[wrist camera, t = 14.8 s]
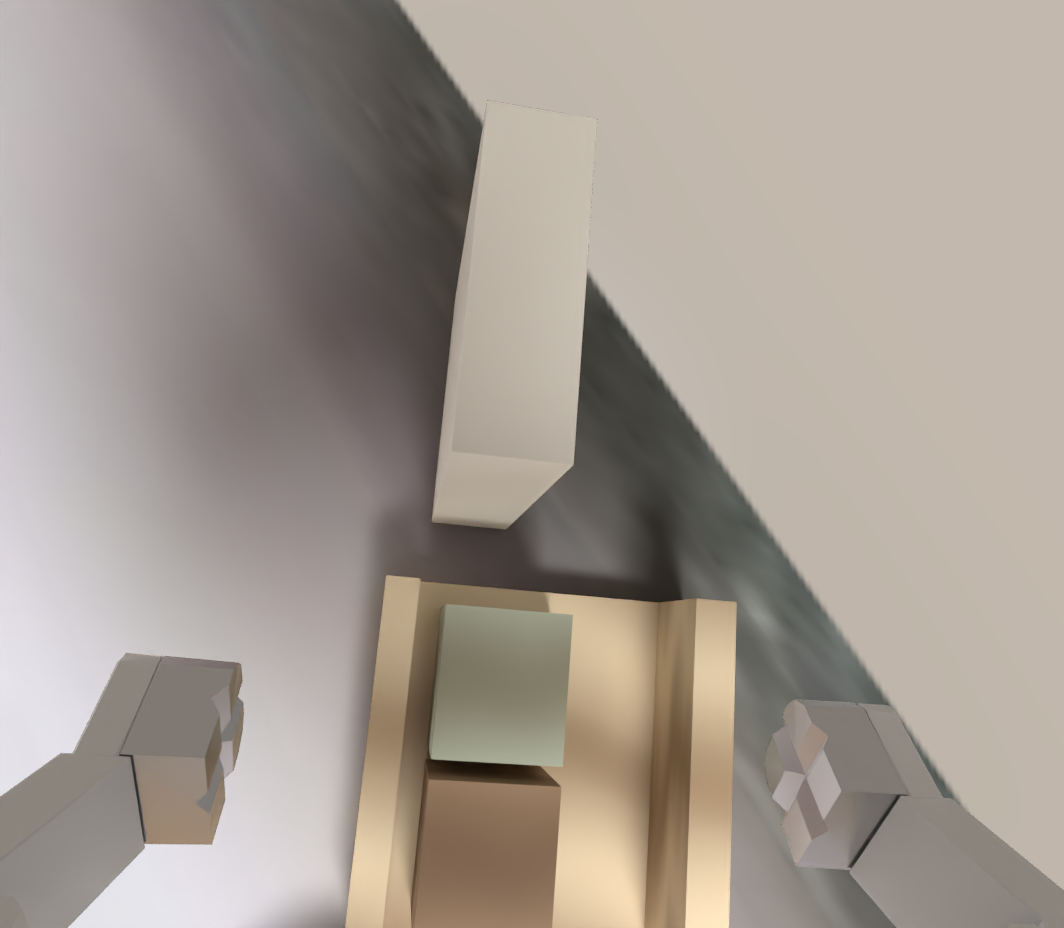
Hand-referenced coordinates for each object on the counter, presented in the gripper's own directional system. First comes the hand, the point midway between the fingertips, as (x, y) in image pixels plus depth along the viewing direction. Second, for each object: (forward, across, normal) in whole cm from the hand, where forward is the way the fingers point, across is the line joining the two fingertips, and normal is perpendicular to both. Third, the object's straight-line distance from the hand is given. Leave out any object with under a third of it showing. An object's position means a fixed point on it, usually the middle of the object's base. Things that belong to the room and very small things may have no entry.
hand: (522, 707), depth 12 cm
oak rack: (+8, -3, +12) cm, 15 cm away
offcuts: (+8, -1, +11) cm, 14 cm away
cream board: (+16, 0, +4) cm, 17 cm away
